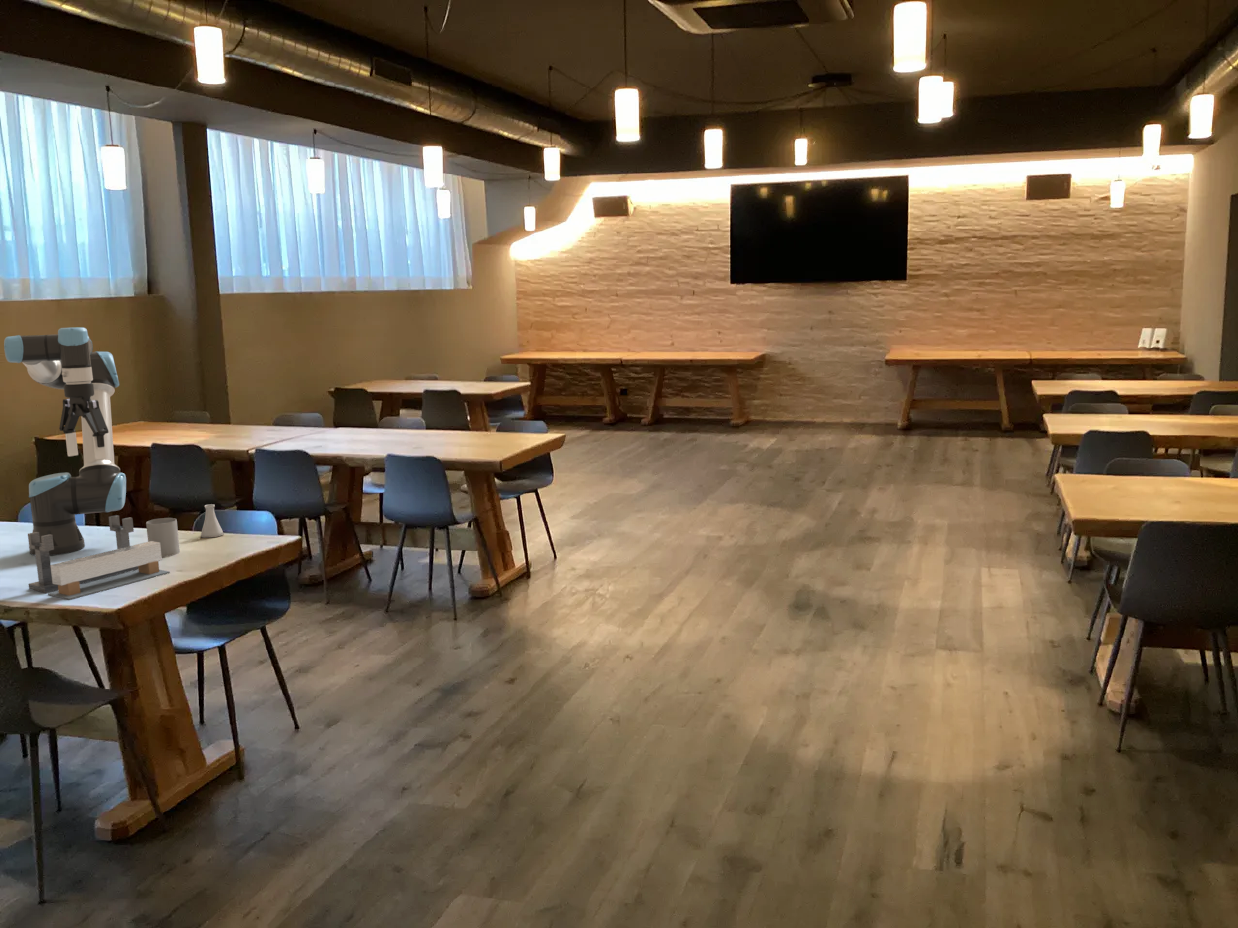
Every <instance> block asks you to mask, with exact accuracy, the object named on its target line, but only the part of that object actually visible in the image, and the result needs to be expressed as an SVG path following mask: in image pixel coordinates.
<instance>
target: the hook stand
mask: <svg viewBox="0 0 1238 928" xmlns="http://www.w3.org/2000/svg"><path fill="white" fill-rule="evenodd" d="M121 521H122V524H121V523H120V522H121ZM121 521H120V515H117V514H115V515H111V516H108V524H109V531H111V532H115V540H116V549H120V548H124V547H128V546H131V544H130V535H129V533H133V532H134V531H135V529H134V520H133V517H132V516H131V517H125V518H121ZM32 532H33V531H32ZM32 532H29V533H27V538H28V539H27V541H28V549H29V548H30V549H35V555H34V556H35V562H36V570H37V572H36V573H37V578H38V579H37V581H35V582H31V583H28V590H30V591H34V592H38V593H43V594H48V593H51V592H55V591H58V585H56V584H53V582H52V574H51V565H52V564H51V557H50V556H51V555H49V551H50V550H54V544H53V536H52V535H51V534H49V535H44V536H41V541H42V543H40V536H39V532H33V533H32ZM136 570H139V569H138V566H136V567H132V568H128V569H124V570H120V571H117V572H113V573H109V574H105V575H101V576H97V577H93V578H89V579H85V580H81V581H79V584H80V585H82V584H85V583H89V582H93V581H97V580H101V579H105V578H109V577H112V576H116V575H120V574H124V573H128V572H132V571H136Z"/></svg>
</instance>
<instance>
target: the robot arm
mask: <svg viewBox="0 0 1238 928" xmlns="http://www.w3.org/2000/svg"><path fill="white" fill-rule="evenodd" d="M3 343H4V344H3V346H4V347H3V349H4V355H5V359H6V361H7V362H8V363H12V364H13V363H16V364H21V363H22V364H23V365H24V366H25V367H26V370H27V373H28V375H29V377H30V378H31V379H32V380H33V381H35V382H36V383H38V384H40V385H41V386H45V387H47V388H51V389H55V390H63V393H64V397H65V398H66V399H62V411H61V417H60V421H59V431H61V432H63V434H64V435H65V436H64V437H65V443H66V445H65V446H66V452H67V453H66V454H67V457H74V456H79V450H78V440H77V433H76V432H77V431H76V426H77V424H78V421H79V418H80V417H81V430H82V431H81V434H82V435H81V436H82V449H83V450H82V451H83V466H82V467H81V468H80V469H79V471H78V473H79V474H78V476H72V475H71V473H70V472H58V473H53V474H48V475H44V476H40V477H37V478H34V479H33V480H31V481H30V482H29V484H28V498H29V504H30V510H31V518H32V519H31V520H32V521H31V522H32V532H31V533H33V532H39V536H40V543H42V541H41V536H44V535H49V534H51V535H52V536H53V544H54V550H50V551H49V555H50V556H56V555H63V554H68V553H74V552H76V551H80V550H82V549H84V548H85V546H86V545H85V539H84V537H83V534H82V532H81V530H80V528H79V526H78V525H77V522H76V516H77V515H84V514H85V515H87V514H95V513H96V514H97V513H99V514H100V513H110V512H116V511H120V510H122V509H123V508H124V506H125V503H126V495H127V494H126V493H127V477H126V476H127V475H126V474H125V473H123V472H121V468H120V467H119V466H118V465H117V464H115V452H114V438H113V437H114V435H113V434H114V433H113V423H112V422H113V421H112V407H111V406H112V405H111V404H112V403H111V397H112V396H113V395H114V393H116V392H115V388H118V387H119V386H120V381H119V377H118V373H117V368H116V364H115V360H114V355H113V354H112V353H111V352H109V351H98V350H97V351H93V349H94V346H93V341H92V340H91V338H90V336H89V333H88V330H87V328H86V327H83V326H81V327H60V328H59V329H58V330H57V334H54V333H53V334H40V335H39V334H36V335H33V334H32V335H31V334H30V335H20V334H18V335H12V336H6V337H5V338H4V341H3ZM28 549H29V555H32V556H36V555H35V549H30V548H29V547H28Z"/></svg>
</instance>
